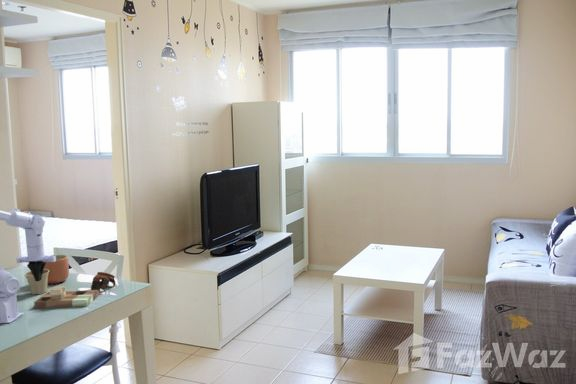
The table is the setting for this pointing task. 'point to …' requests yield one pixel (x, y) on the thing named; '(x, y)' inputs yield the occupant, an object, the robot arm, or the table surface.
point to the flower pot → (37, 282)
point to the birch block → (58, 293)
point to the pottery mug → (104, 283)
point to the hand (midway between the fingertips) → (38, 280)
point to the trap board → (68, 299)
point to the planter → (57, 269)
